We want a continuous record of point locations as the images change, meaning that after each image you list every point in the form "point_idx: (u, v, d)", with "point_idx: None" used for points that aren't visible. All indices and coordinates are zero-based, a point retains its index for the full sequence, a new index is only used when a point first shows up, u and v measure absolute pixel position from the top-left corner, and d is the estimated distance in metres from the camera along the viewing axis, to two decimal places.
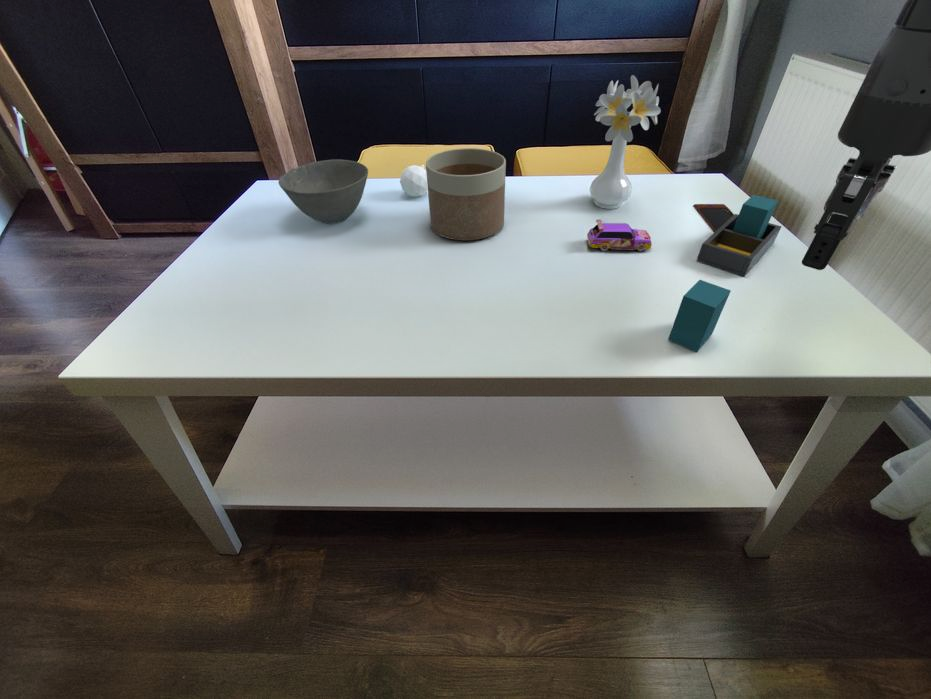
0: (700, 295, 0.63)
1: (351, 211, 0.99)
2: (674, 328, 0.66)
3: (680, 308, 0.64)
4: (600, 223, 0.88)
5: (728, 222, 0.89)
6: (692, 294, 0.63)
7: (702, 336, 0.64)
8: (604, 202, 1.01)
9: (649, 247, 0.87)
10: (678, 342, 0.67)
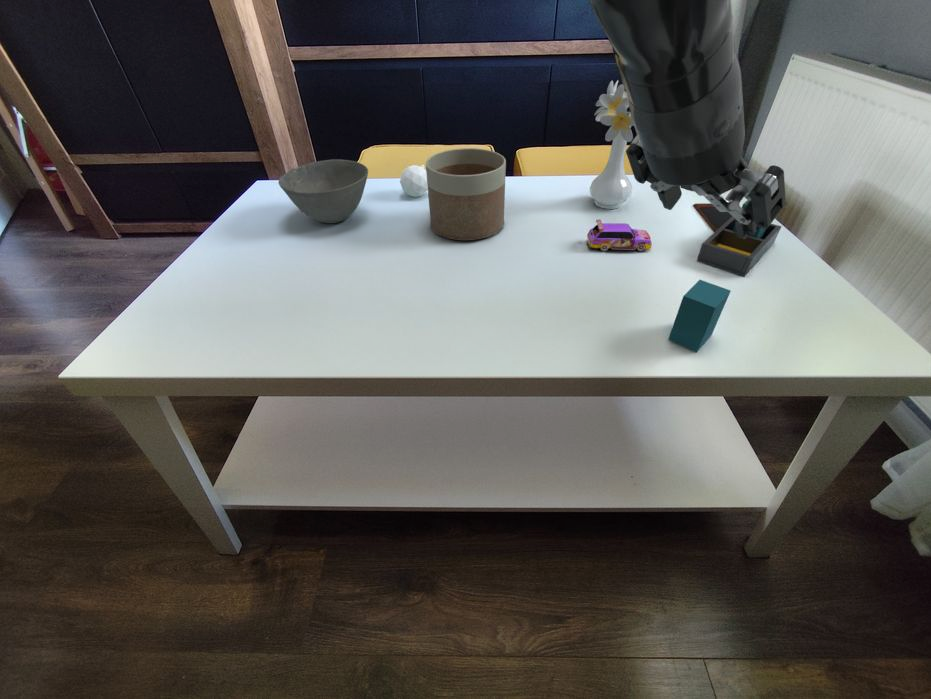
0: (700, 295, 0.63)
1: (351, 211, 0.99)
2: (674, 328, 0.66)
3: (680, 308, 0.64)
4: (600, 223, 0.88)
5: (728, 222, 0.89)
6: (692, 294, 0.63)
7: (702, 336, 0.64)
8: (604, 202, 1.01)
9: (649, 247, 0.87)
10: (678, 342, 0.67)
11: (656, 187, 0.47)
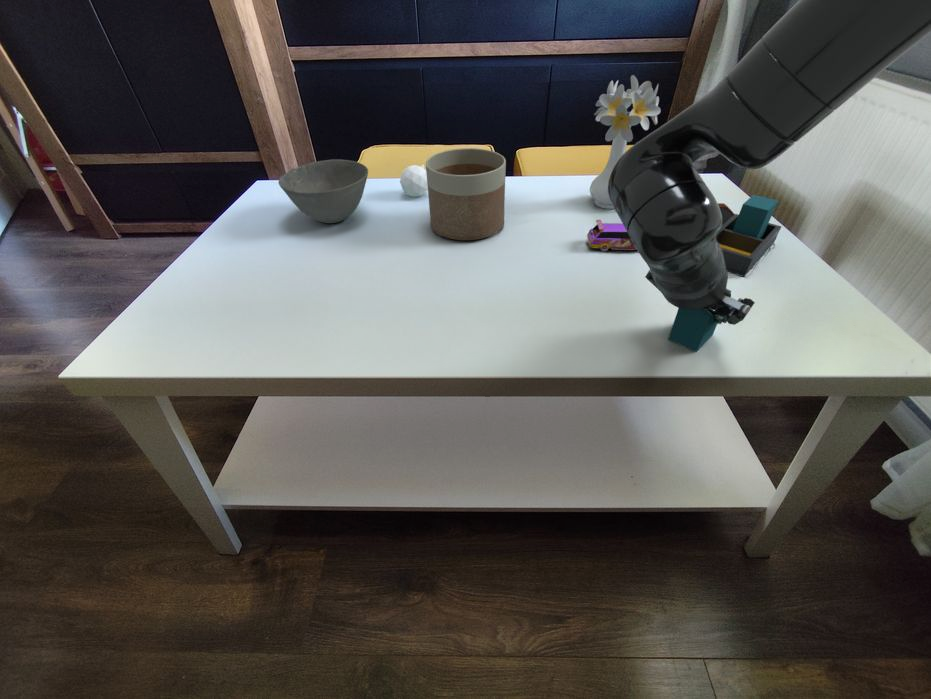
0: None
1: (351, 211, 0.99)
2: (674, 327, 0.66)
3: None
4: (600, 223, 0.88)
5: (728, 222, 0.89)
6: None
7: (701, 336, 0.64)
8: (604, 202, 1.01)
9: None
10: (678, 342, 0.67)
11: None
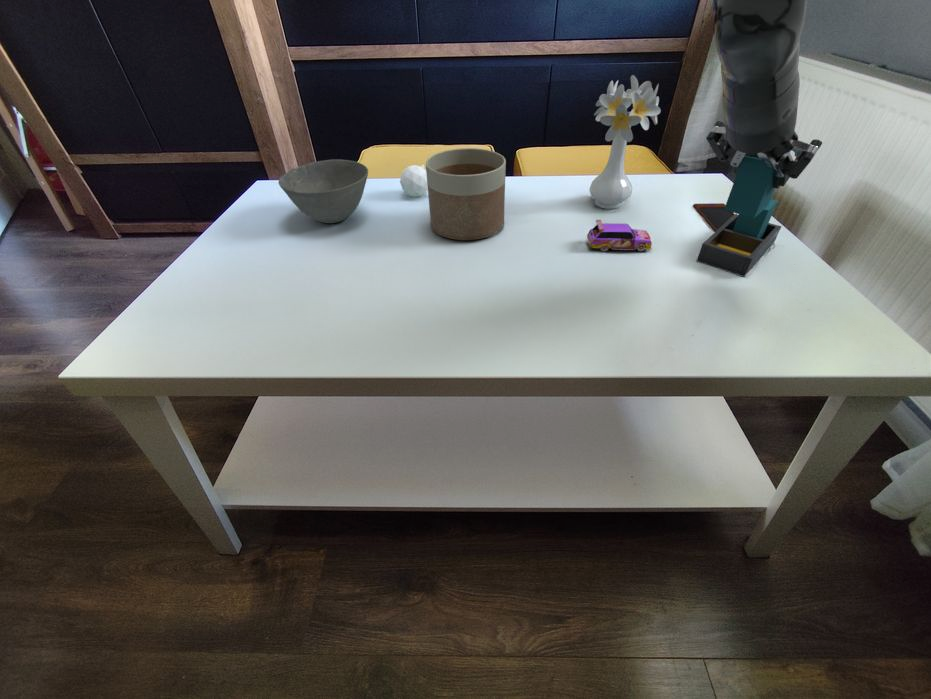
0: None
1: (351, 211, 0.99)
2: (731, 195, 0.68)
3: (739, 171, 0.65)
4: (600, 223, 0.88)
5: (728, 222, 0.89)
6: None
7: (760, 198, 0.65)
8: (604, 202, 1.01)
9: (649, 247, 0.87)
10: (734, 210, 0.68)
11: (736, 163, 0.66)
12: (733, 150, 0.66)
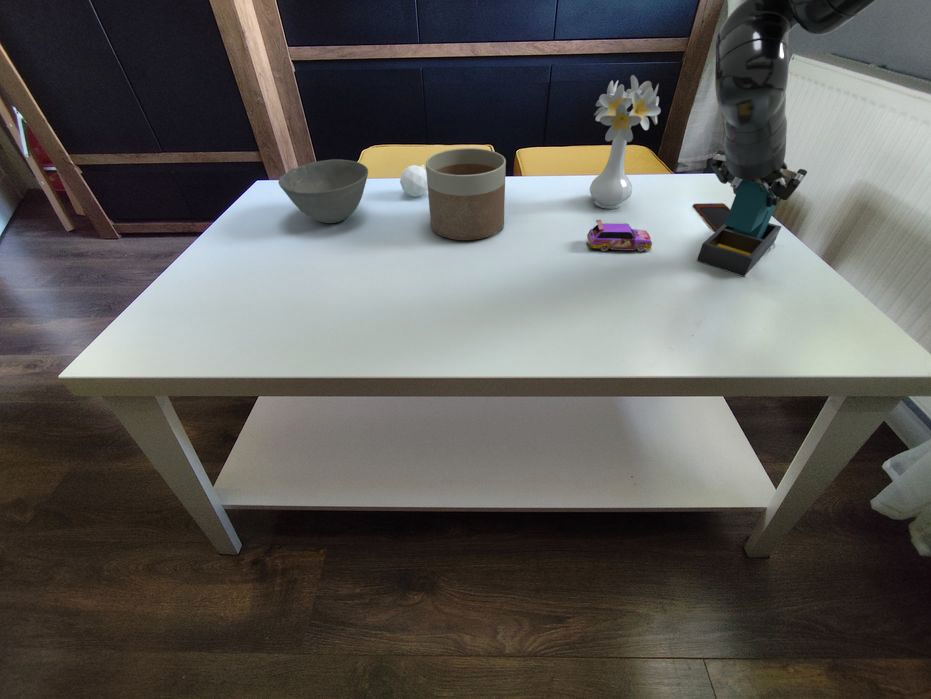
0: None
1: (351, 211, 0.99)
2: (731, 212, 0.78)
3: (737, 192, 0.76)
4: (600, 223, 0.88)
5: None
6: None
7: (756, 216, 0.76)
8: (604, 202, 1.01)
9: (649, 247, 0.87)
10: (734, 225, 0.79)
11: (735, 185, 0.76)
12: None
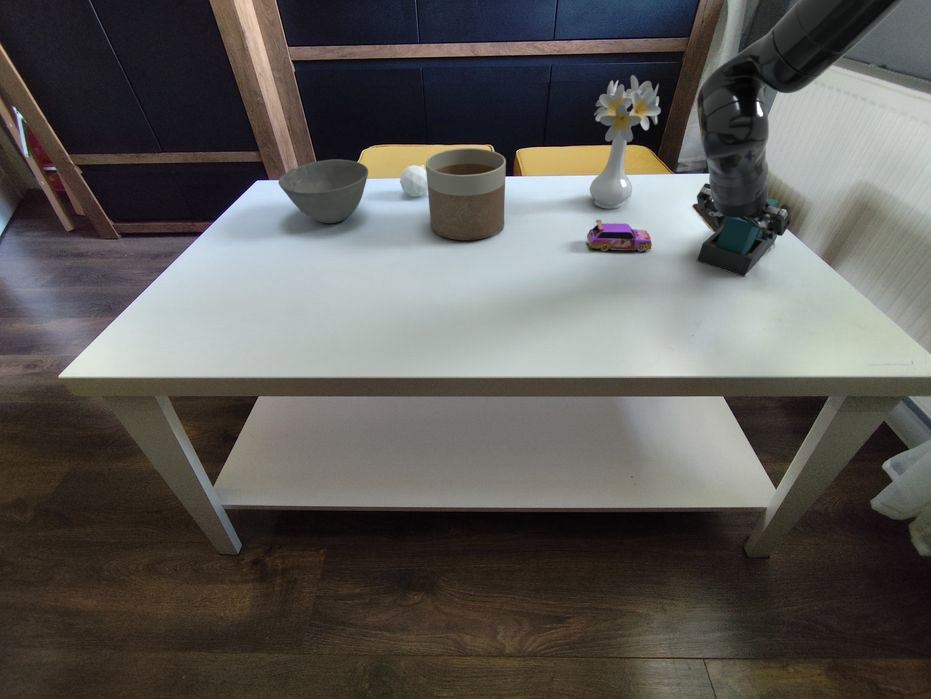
0: None
1: (351, 211, 0.99)
2: None
3: (723, 228, 0.80)
4: (600, 223, 0.88)
5: None
6: None
7: (741, 250, 0.80)
8: (604, 202, 1.01)
9: (649, 247, 0.87)
10: None
11: (712, 214, 0.81)
12: (710, 203, 0.81)
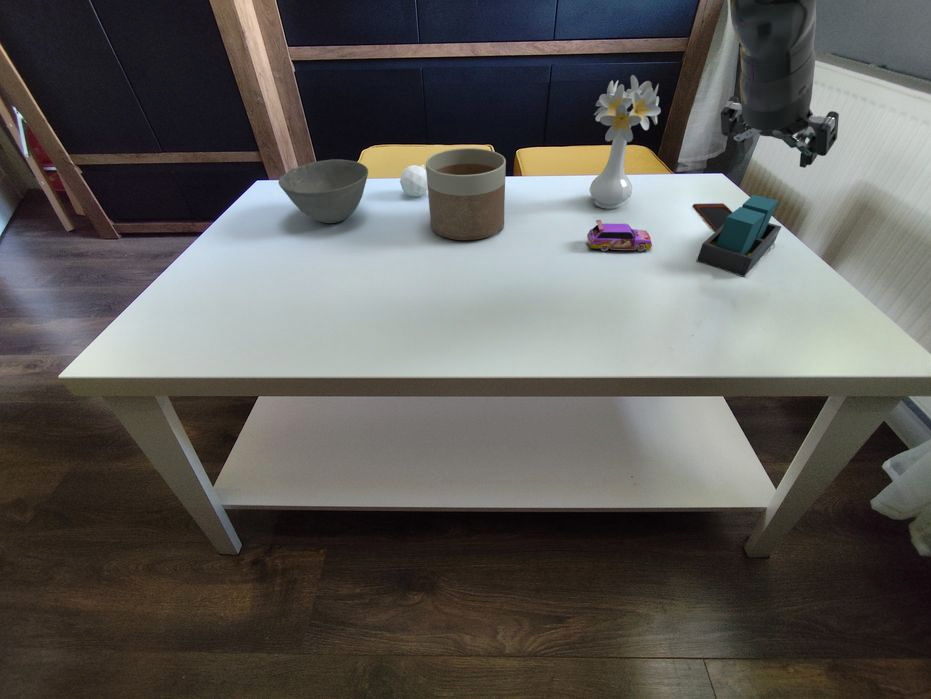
0: (740, 216, 0.79)
1: (351, 211, 0.99)
2: None
3: (723, 228, 0.80)
4: (600, 223, 0.88)
5: None
6: (734, 215, 0.79)
7: (741, 250, 0.80)
8: (604, 202, 1.01)
9: (649, 247, 0.87)
10: None
11: (739, 137, 0.68)
12: (736, 124, 0.68)
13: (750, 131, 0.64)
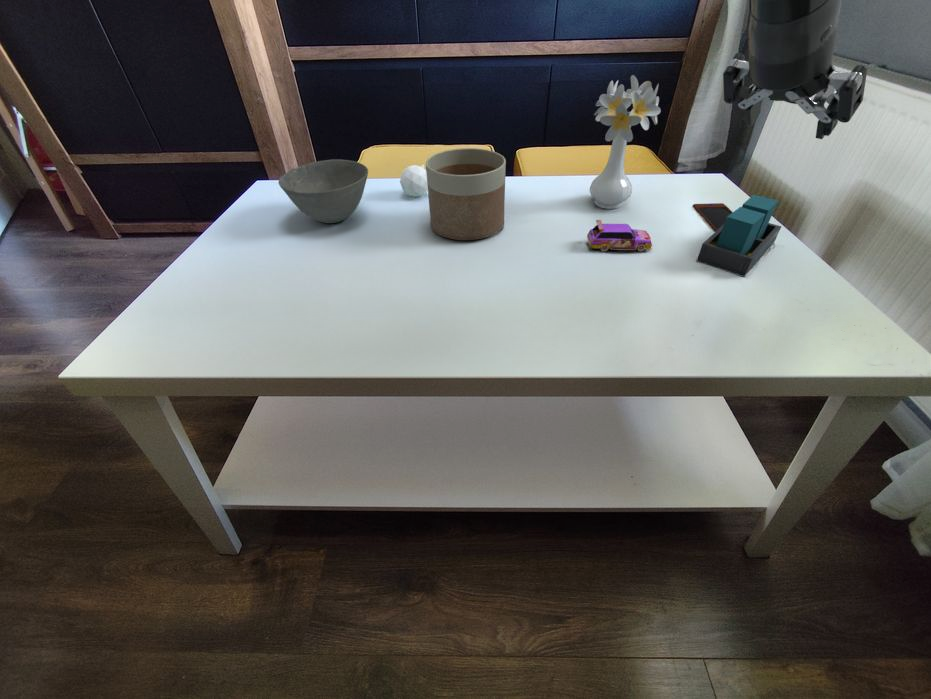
0: (740, 216, 0.79)
1: (351, 211, 0.99)
2: None
3: (723, 228, 0.80)
4: (600, 223, 0.88)
5: None
6: (734, 215, 0.79)
7: (741, 250, 0.80)
8: (604, 202, 1.01)
9: (649, 247, 0.87)
10: None
11: (744, 104, 0.58)
12: (741, 89, 0.58)
13: (758, 95, 0.54)
